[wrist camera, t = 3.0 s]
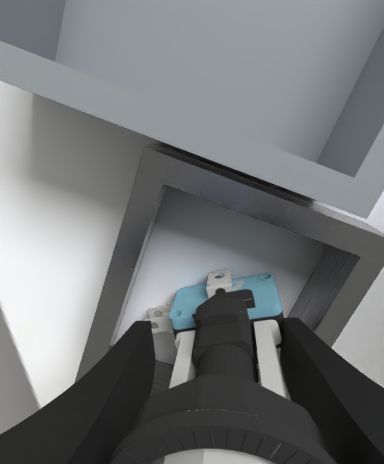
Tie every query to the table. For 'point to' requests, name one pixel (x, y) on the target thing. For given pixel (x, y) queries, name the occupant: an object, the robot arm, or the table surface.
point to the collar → (253, 204)
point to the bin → (221, 81)
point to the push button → (223, 384)
